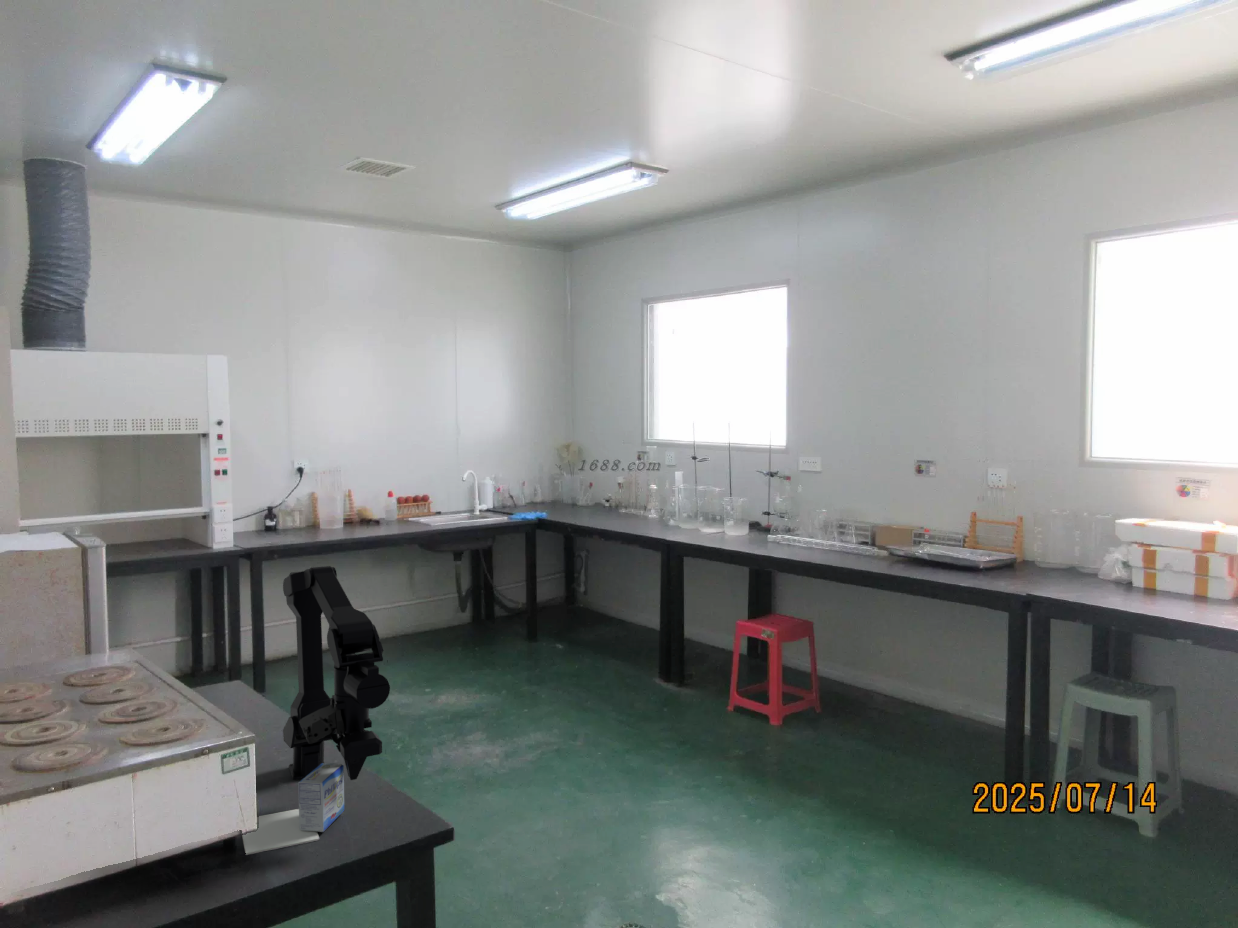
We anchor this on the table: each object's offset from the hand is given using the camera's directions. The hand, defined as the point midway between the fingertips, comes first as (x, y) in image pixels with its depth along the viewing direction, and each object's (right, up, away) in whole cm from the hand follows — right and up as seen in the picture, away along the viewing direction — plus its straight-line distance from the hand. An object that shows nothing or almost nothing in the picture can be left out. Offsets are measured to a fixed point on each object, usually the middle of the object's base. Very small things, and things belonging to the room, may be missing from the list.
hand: (352, 777), depth 146 cm
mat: (-11, -7, -5) cm, 14 cm away
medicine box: (-4, -7, -2) cm, 8 cm away
